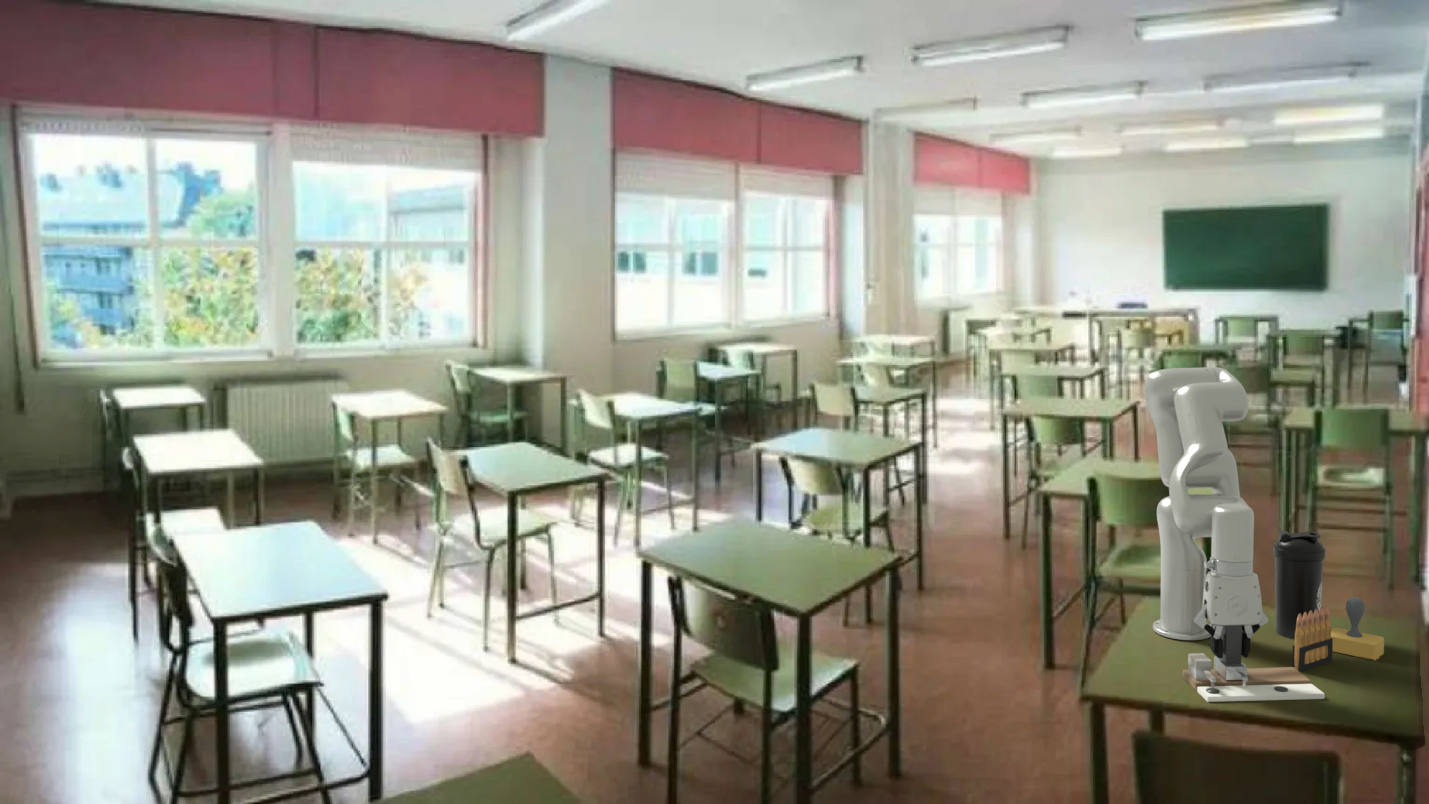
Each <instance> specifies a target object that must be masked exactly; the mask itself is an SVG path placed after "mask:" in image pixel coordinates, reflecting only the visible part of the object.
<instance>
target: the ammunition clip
mask: <svg viewBox="0 0 1429 804" xmlns="http://www.w3.org/2000/svg"><path fill="white" fill-rule="evenodd" d="M1331 629H1332V624H1331V611H1330V608H1329V605H1326V606H1325V608H1323V607H1322V606H1321V607H1320V611H1319V613H1318V610H1317V609H1315V611H1314V614H1313V613H1312V611H1311V610H1310V612H1309V614H1308V616H1307V613H1306V612H1304V614H1303V618H1302V616H1301V614H1300V613H1299V615H1298V617H1297V623H1296V631H1295V639H1294V644H1293V645H1292V654H1291V655H1292V657H1291V667H1294V668H1295V669H1296V670H1298V671H1299V672H1300V673H1302V672H1305V671H1308V670H1311V669H1314V668H1317V667H1319V666H1323V665H1327V664H1328V663H1332V662H1333V661H1334V660H1333V656H1334V655H1333V653H1334V652H1333V638H1331Z"/></svg>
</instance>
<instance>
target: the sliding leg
mask: <svg viewBox="0 0 1429 804" xmlns="http://www.w3.org/2000/svg"><path fill="white" fill-rule="evenodd" d="M1221 639H1223V657H1222V658H1218V657H1217V656H1215V655H1214V656H1213V669H1215V670H1216V671H1217V672H1218V673H1219V674H1220V675H1221V676H1222V677H1223V678H1225V679H1226V680H1243V687H1246V681H1248V677H1247V668H1248V665H1246V664H1245V663H1244V662H1242V655H1241V651H1242V625H1239V626H1223V628H1222V631H1221Z"/></svg>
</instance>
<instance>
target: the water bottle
mask: <svg viewBox="0 0 1429 804" xmlns="http://www.w3.org/2000/svg"><path fill="white" fill-rule="evenodd" d="M1320 538H1321V534H1319V532H1316V531H1302V532H1295V533H1294V532H1293V533H1289V532H1288V531H1286V530H1281V531H1280V532H1279V533H1278V538H1277V541H1276V542H1275V543H1274V544H1273V547H1272V548H1273V550H1272V553H1273V556H1274V572H1275V574H1274V576H1275V578H1274V581H1275V633H1276V634H1277V635H1279V636H1281V637H1285V638H1288V639H1293V640H1295V631H1296V623H1297V617H1298V615H1299V613H1300V614H1301V616H1302V618H1303V614H1304V612H1306V613H1307V616H1308V614H1309V612H1310V610H1311V611H1312V613H1313V614H1314V611H1315V609H1317V610H1318V613H1319V611H1320V608H1321V607H1322V594H1323V593H1322V592H1323V572H1324V560H1325V559H1326V553H1327V552H1326V551H1327V550H1326V547H1324V545H1323V544H1322V543H1321V541H1319V539H1320Z"/></svg>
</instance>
